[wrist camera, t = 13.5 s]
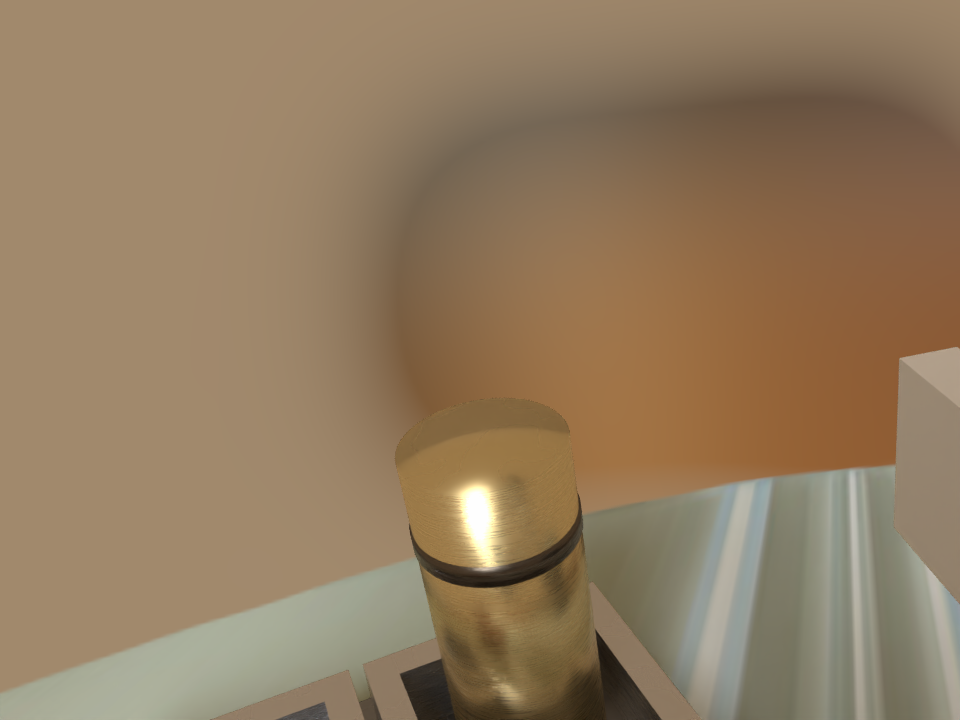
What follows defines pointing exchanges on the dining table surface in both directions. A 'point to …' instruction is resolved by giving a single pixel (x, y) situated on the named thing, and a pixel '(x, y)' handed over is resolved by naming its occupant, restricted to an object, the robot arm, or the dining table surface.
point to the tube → (503, 560)
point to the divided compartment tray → (425, 695)
